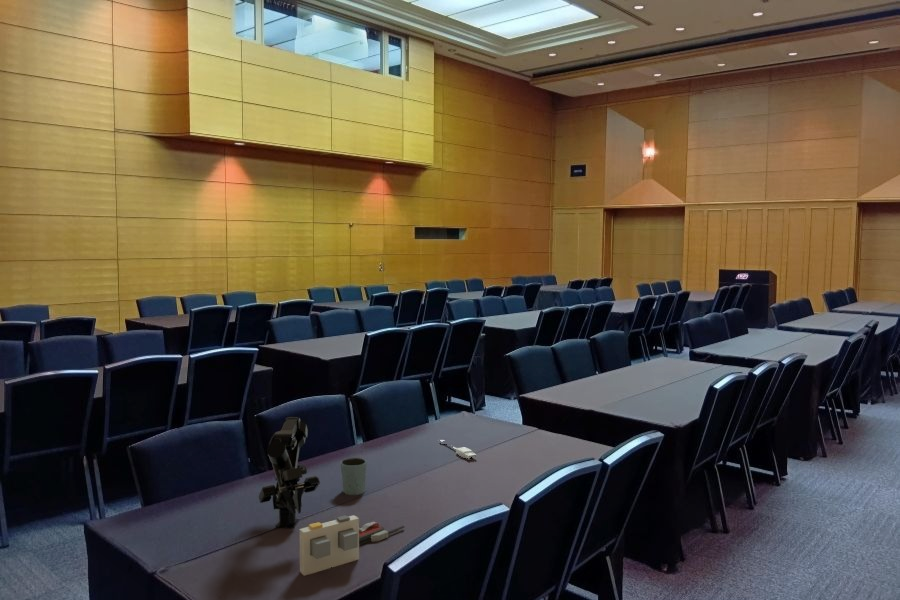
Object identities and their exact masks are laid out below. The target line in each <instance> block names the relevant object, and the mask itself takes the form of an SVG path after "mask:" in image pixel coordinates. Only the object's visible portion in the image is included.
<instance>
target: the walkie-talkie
mask: <svg viewBox="0 0 900 600" xmlns="http://www.w3.org/2000/svg"><path fill="white" fill-rule="evenodd" d="M401 529H405V526H404V525H401V526H398V527H396V528H394V529H390V530H386V529H385V527H384V526H383V525H380V524H379V523H378V522H375V521H374V520H373V521H370V522H367V523H365V524H363V525H362V526H361V527H359V546H362V545H364V544H366V543H369V542H380V541H382V540H384V539H387V538H389V536H390V535H391V534H393V533H396V532H399V531H400V530H401Z"/></svg>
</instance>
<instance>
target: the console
mask: <svg viewBox="0 0 900 600" xmlns="http://www.w3.org/2000/svg"><path fill="white" fill-rule="evenodd" d="M359 524H360V518H359V517H358V516H357V515H349V516H348V515H347V514H345V515H341V516H337V517H336V519H334V520H330V521H326V522H322V523H321V522H320V521H318V522H314V523H309V524H308V526H306V527H302V528H299V573H301V575H303V576H304V577H305V576H307V575H308V576H309V575H312V574H315V573H318V572H321V571H325V570H329V569H331V567H332V568H335V567H338V566H342V565H344V564H349V563H351V562H355V561H359V560H360V545H359V528H360V527H359V526H360V525H359ZM347 529H353V530H354V531H356V532H357V533H358V547H357V548H353V549H350V550H346V551H344V550H343V549H341V548H340V547H339V546H338V532H339V531H343V530H347ZM321 536H325V537H326V538H328V539H329V540H330V555H329V556H325V557H322V558H319V559H316V558H315V557H313V556H312V555H311V554H310V539H313V538H317V537H321Z"/></svg>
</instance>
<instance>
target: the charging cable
mask: <svg viewBox="0 0 900 600" xmlns="http://www.w3.org/2000/svg"><path fill="white" fill-rule="evenodd" d="M439 440H440V441H441V442H443V441H445V440H444V439H439ZM453 448H454V449H453ZM453 448H452V449H453V450H455V449H456V450H455V454H456V453H458V454H460V455H462V456H465V457H466V459H467V458H468V459H467V460H470V459H469V457H473V456H475V457H478V455H477V454H476V453H475V452H474V451H473V450H472V449H470V448H468V447H465V446H463V447H455V446H453Z"/></svg>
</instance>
